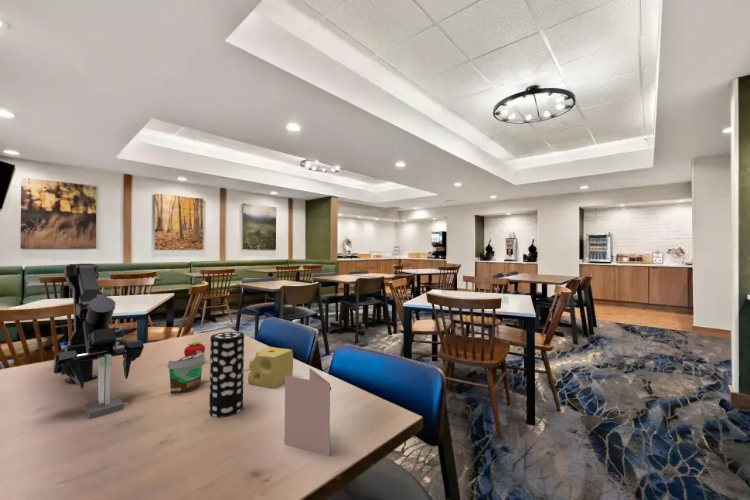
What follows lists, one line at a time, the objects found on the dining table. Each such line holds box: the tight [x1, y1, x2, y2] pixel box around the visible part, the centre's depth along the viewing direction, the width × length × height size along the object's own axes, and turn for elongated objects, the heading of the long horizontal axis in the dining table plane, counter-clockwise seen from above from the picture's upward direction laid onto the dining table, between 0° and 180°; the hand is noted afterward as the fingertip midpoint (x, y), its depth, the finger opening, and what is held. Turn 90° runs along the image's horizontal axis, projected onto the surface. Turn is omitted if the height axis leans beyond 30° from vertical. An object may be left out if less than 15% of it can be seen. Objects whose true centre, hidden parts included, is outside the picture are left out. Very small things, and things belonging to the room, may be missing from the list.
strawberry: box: [183, 339, 206, 357], centre depth 125 cm, size 6×8×10 cm
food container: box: [166, 351, 206, 395], centre depth 102 cm, size 12×6×10 cm, turn 168°
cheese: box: [247, 346, 294, 389], centre depth 109 cm, size 10×11×10 cm
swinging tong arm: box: [96, 355, 105, 405], centre depth 87 cm, size 3×1×12 cm, turn 50°
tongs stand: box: [83, 354, 124, 420], centre depth 88 cm, size 7×7×14 cm
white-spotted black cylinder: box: [208, 331, 245, 418], centre depth 88 cm, size 8×8×20 cm
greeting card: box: [283, 367, 332, 457], centre depth 71 cm, size 11×7×15 cm, turn 33°
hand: (105, 382), depth 87 cm, fingers open, 9 cm apart
